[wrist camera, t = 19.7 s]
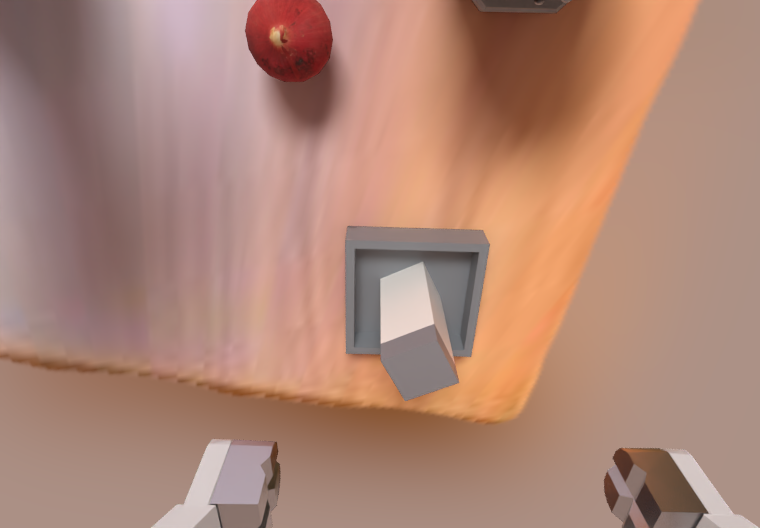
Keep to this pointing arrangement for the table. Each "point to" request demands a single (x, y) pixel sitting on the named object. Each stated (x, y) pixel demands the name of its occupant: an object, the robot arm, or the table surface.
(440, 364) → the plug
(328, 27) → the onion
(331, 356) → the table surface
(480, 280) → the walled box
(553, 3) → the tankard
